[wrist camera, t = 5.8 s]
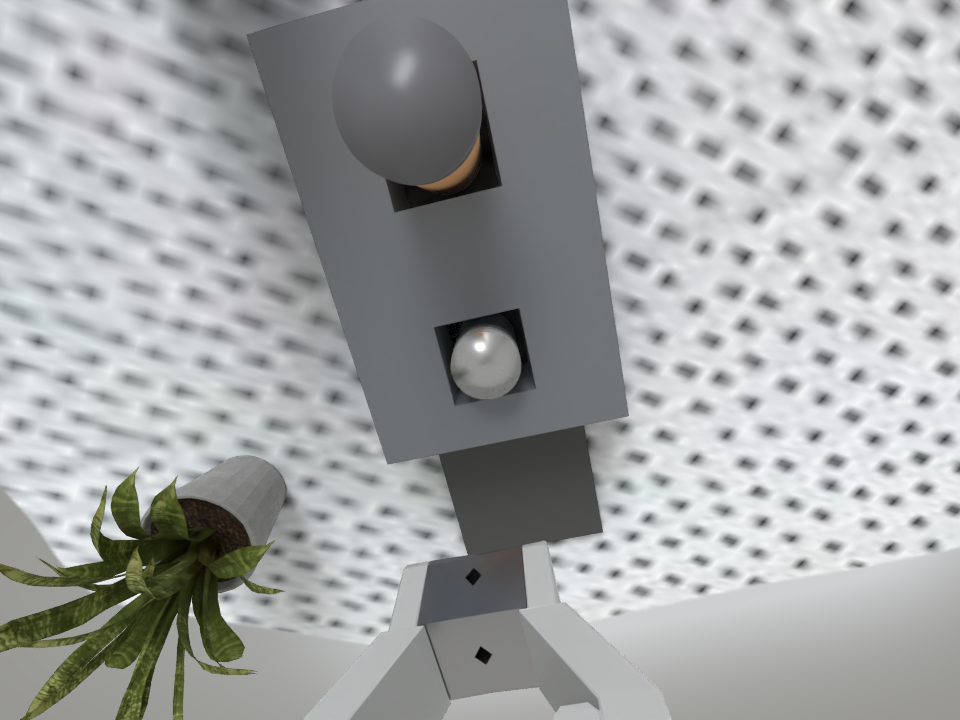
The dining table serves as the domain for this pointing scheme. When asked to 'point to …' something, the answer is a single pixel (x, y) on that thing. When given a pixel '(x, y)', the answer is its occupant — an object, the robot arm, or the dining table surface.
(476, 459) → the mat
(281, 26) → the housing
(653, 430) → the dining table surface
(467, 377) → the plunger
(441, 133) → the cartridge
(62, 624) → the house plant
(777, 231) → the dining table surface
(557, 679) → the robot arm
